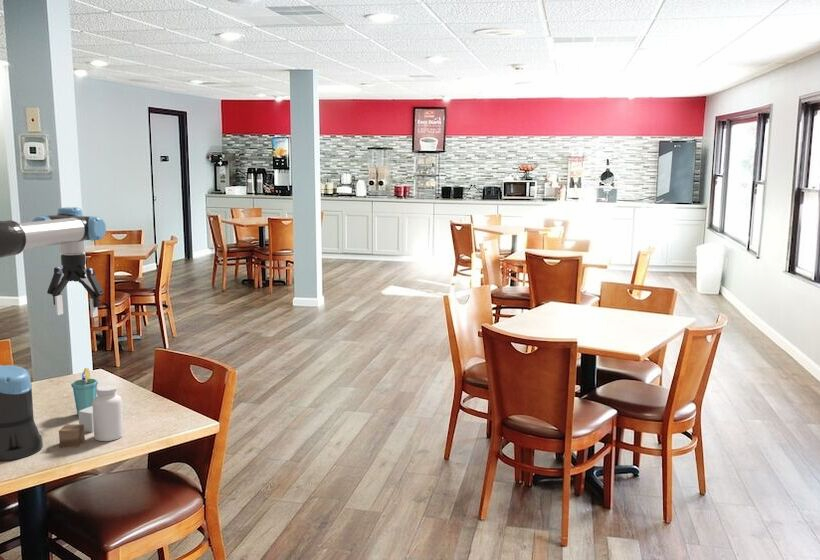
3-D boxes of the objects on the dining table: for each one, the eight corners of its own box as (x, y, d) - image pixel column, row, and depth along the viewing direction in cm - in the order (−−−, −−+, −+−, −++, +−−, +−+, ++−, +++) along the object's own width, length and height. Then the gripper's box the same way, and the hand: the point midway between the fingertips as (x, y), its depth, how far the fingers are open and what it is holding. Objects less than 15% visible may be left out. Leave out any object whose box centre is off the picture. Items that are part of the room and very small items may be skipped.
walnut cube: (78, 447, 207) (77, 430, 206) (60, 447, 207) (58, 430, 206) (84, 440, 212) (83, 424, 211) (67, 441, 212) (66, 424, 211)
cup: (100, 420, 228) (97, 374, 226) (73, 424, 225) (69, 376, 223) (99, 406, 241) (96, 362, 238) (73, 409, 238) (70, 365, 235)
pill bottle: (117, 442, 211) (114, 392, 208) (89, 441, 211) (86, 391, 209) (128, 432, 219) (125, 383, 216) (101, 431, 219) (98, 383, 216)
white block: (92, 432, 218) (91, 413, 217) (79, 430, 220) (78, 411, 219) (105, 427, 223) (103, 408, 222) (92, 424, 225) (91, 406, 224)
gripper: (112, 253, 246) (116, 315, 250) (48, 251, 252) (53, 311, 255) (98, 256, 239) (102, 319, 243) (33, 253, 245) (37, 315, 248)
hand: (77, 315), depth 249 cm, fingers open, 13 cm apart
